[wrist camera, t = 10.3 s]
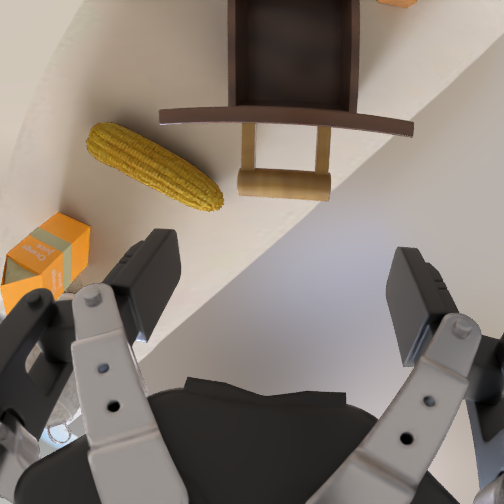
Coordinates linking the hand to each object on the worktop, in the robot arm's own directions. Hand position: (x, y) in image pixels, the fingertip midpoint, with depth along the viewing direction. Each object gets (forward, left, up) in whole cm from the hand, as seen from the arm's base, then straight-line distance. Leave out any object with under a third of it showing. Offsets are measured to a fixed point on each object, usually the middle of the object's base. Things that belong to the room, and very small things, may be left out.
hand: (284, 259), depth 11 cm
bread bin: (-10, 0, -31) cm, 33 cm away
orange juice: (+19, -38, -31) cm, 53 cm away
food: (+5, -18, -31) cm, 37 cm away
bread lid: (-4, 0, -14) cm, 14 cm away
